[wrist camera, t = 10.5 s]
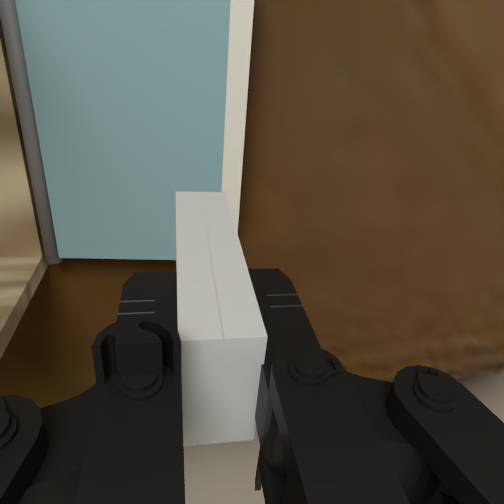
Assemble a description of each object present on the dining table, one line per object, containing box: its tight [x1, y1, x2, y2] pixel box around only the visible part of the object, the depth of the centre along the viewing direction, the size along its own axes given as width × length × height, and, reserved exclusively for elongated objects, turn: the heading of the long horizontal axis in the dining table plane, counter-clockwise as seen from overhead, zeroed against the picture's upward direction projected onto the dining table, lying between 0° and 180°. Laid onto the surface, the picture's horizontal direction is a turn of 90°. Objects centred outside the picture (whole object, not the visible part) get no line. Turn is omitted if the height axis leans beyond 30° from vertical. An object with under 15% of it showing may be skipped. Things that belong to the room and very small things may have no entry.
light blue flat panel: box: [0, 0, 254, 264], centre depth 24 cm, size 18×1×13 cm
